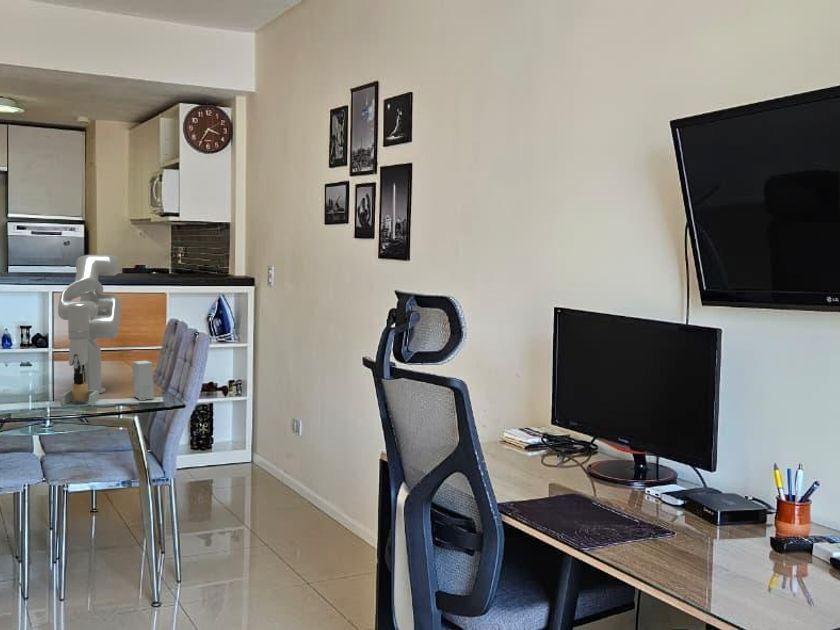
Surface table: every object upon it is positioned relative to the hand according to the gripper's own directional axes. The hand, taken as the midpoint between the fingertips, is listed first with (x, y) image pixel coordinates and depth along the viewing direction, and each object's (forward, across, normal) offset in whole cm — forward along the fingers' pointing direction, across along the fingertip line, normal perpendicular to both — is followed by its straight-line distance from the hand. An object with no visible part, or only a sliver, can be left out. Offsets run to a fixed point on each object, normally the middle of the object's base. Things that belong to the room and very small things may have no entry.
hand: (79, 382), depth 343 cm
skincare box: (+8, -9, +22) cm, 25 cm away
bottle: (+7, 0, 0) cm, 7 cm away
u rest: (+8, 0, 0) cm, 8 cm away
